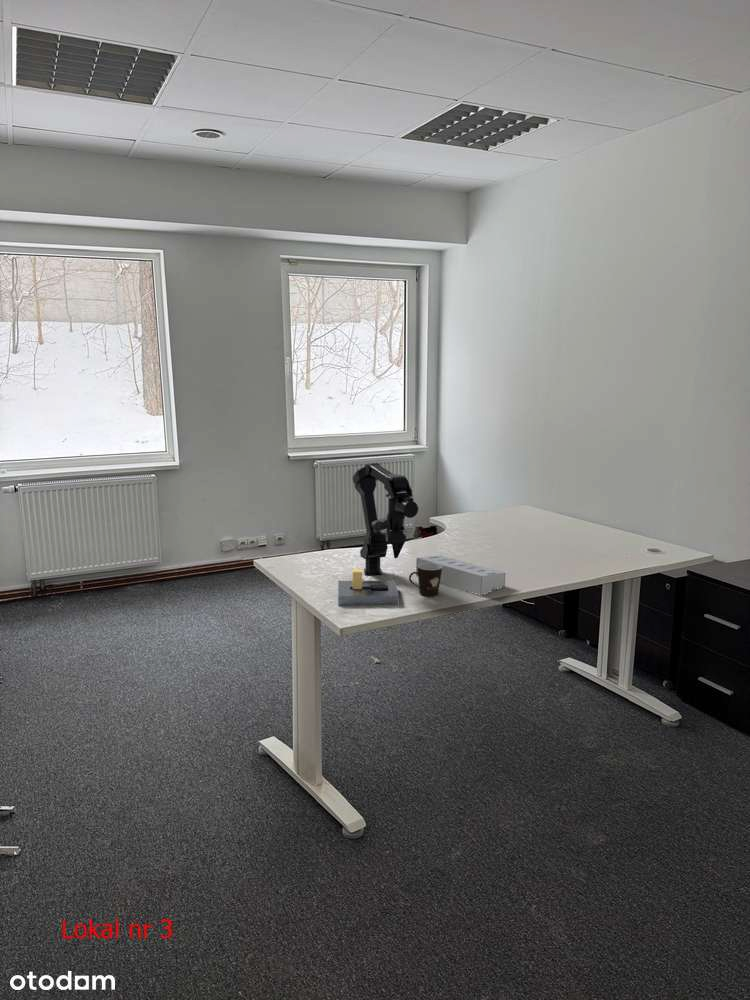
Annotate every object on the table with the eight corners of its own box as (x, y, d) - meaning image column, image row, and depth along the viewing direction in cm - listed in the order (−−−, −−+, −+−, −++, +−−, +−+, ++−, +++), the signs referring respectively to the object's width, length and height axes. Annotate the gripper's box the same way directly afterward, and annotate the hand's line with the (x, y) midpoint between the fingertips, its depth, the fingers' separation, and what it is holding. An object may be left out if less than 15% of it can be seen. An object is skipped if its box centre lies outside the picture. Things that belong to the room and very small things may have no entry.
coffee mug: (439, 589, 247) (440, 562, 245) (442, 598, 239) (443, 570, 237) (406, 589, 247) (407, 562, 245) (408, 598, 238) (409, 570, 236)
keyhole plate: (338, 589, 246) (338, 580, 245) (394, 589, 247) (395, 580, 246) (338, 605, 231) (338, 596, 230) (398, 605, 231) (398, 596, 231)
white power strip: (504, 587, 251) (505, 567, 250) (480, 597, 241) (481, 576, 240) (440, 569, 272) (441, 550, 270) (416, 577, 262) (416, 557, 260)
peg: (350, 594, 241) (350, 568, 239) (363, 594, 241) (363, 568, 239) (350, 599, 236) (351, 572, 234) (363, 599, 237) (364, 572, 235)
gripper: (372, 505, 254) (372, 546, 257) (373, 517, 235) (372, 561, 239) (403, 505, 254) (402, 547, 257) (406, 518, 236) (405, 562, 239)
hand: (395, 554), depth 248 cm, fingers open, 9 cm apart
